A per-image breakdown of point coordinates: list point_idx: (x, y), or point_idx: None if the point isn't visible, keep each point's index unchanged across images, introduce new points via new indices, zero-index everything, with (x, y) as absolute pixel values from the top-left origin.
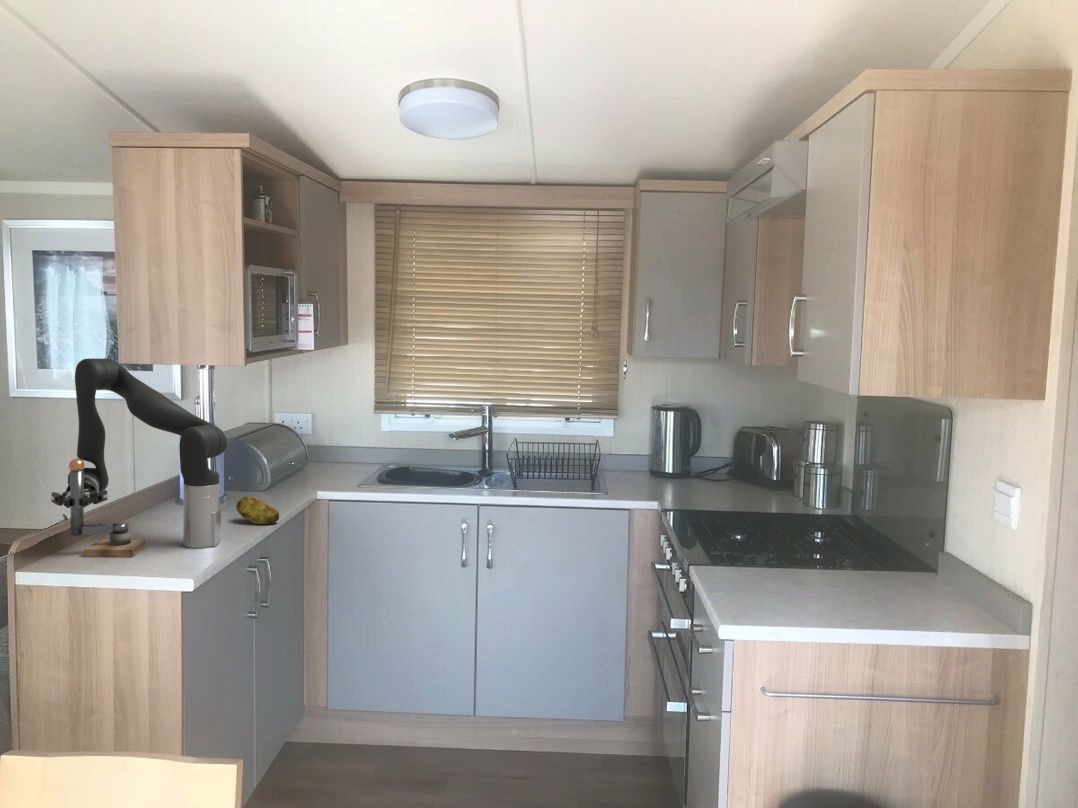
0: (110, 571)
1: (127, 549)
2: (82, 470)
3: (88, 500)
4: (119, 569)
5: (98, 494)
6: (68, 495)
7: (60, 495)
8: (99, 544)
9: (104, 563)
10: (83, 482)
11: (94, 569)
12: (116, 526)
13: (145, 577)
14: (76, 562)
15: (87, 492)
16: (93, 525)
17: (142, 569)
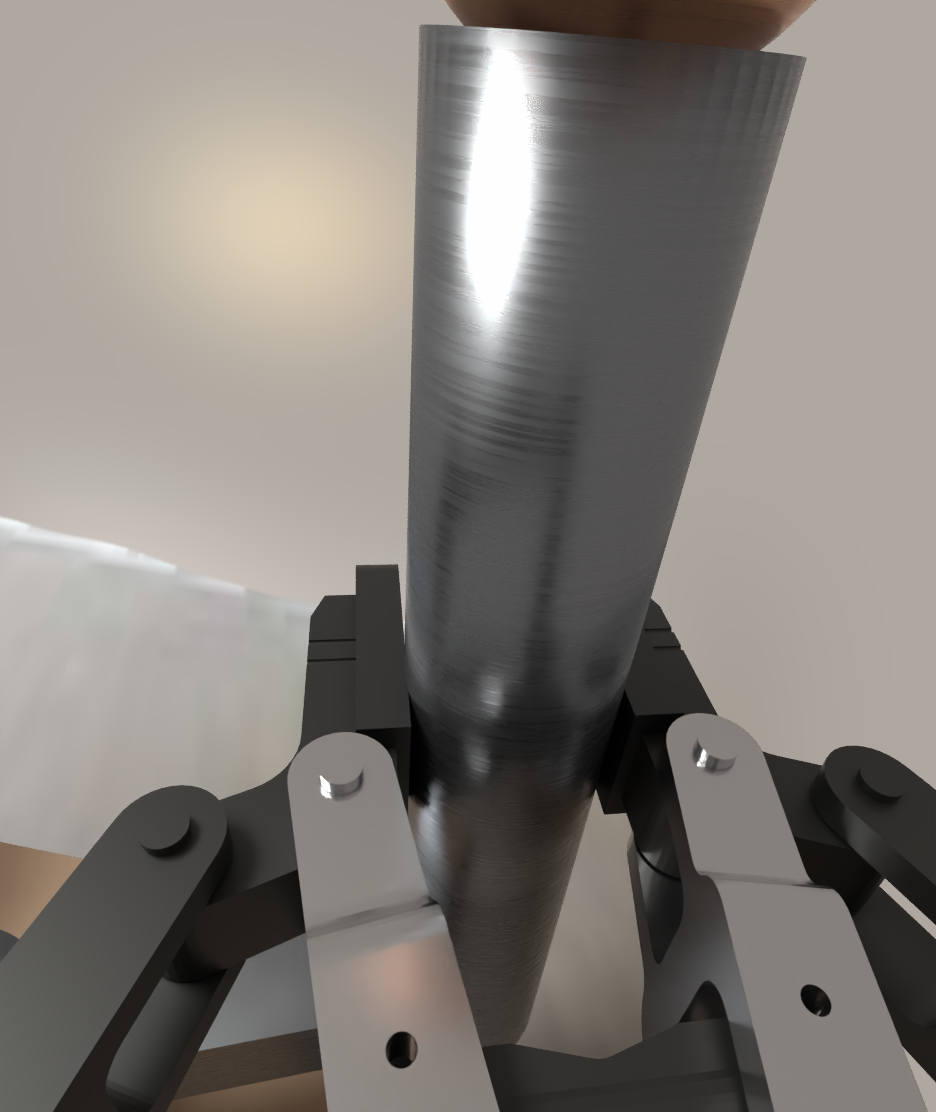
0: (215, 628)
1: (24, 857)
2: (454, 27)
3: (316, 619)
4: (165, 647)
5: (93, 846)
6: (709, 747)
7: (867, 765)
8: (240, 1107)
9: (233, 762)
10: (412, 411)
11: (294, 667)
12: (6, 937)
13: (78, 539)
14: None
15: (358, 926)
16: (282, 984)
17: (49, 629)
